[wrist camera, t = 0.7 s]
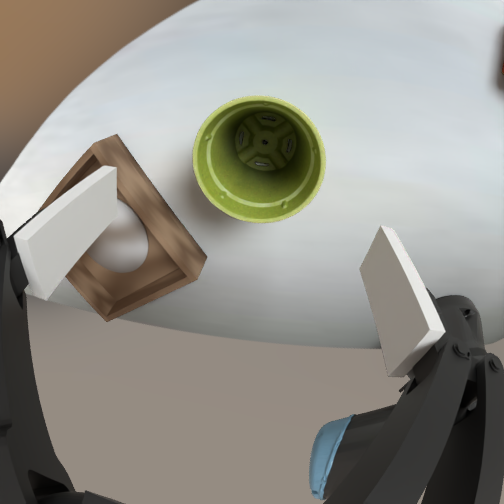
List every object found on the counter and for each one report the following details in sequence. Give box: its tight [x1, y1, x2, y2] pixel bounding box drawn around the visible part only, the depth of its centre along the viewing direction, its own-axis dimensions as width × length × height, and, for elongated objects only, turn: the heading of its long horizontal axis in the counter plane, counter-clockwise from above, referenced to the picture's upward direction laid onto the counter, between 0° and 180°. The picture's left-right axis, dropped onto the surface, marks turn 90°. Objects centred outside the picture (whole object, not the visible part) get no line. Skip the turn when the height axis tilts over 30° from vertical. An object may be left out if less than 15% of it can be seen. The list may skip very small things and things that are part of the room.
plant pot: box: [193, 96, 326, 223], centre depth 23 cm, size 9×9×9 cm
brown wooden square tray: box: [39, 134, 207, 322], centre depth 32 cm, size 18×18×4 cm
